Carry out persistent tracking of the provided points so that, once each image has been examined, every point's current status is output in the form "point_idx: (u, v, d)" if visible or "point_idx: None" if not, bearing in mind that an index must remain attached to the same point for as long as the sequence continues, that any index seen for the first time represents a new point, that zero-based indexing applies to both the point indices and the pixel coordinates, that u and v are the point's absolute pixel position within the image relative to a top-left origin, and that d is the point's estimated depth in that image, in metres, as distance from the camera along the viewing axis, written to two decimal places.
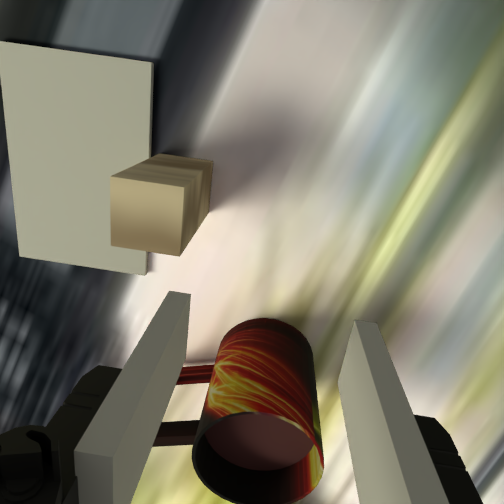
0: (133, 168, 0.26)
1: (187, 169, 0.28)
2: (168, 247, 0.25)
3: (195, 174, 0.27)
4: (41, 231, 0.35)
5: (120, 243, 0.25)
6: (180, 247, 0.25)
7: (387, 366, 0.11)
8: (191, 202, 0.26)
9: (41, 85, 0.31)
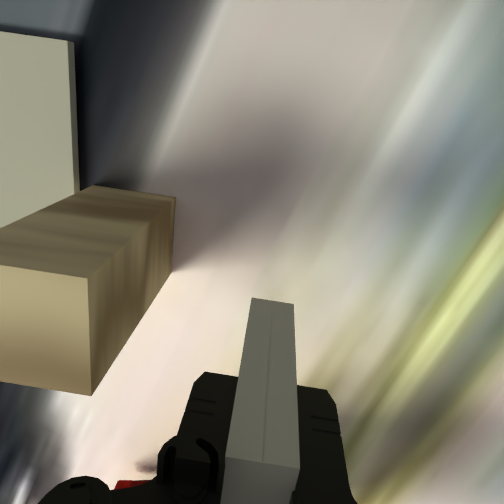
0: (15, 226, 0.14)
1: (121, 221, 0.16)
2: (69, 381, 0.13)
3: (130, 234, 0.15)
4: None
5: None
6: (91, 380, 0.13)
7: (288, 342, 0.11)
8: (119, 287, 0.14)
9: None
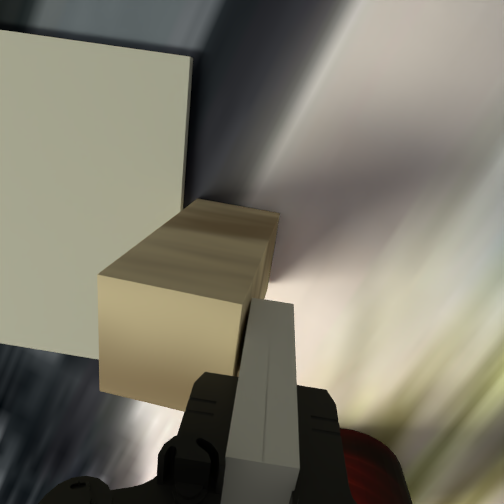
0: (148, 243, 0.14)
1: (242, 239, 0.16)
2: None
3: (258, 254, 0.15)
4: (17, 308, 0.24)
5: (117, 388, 0.13)
6: None
7: (288, 342, 0.11)
8: None
9: (12, 93, 0.19)
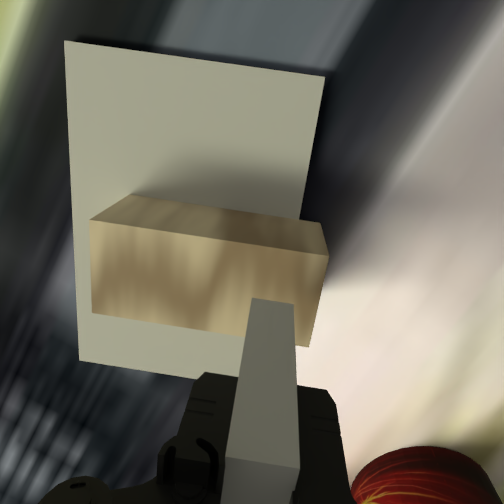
0: (183, 204, 0.20)
1: (217, 230, 0.17)
2: None
3: (183, 232, 0.16)
4: (115, 327, 0.23)
5: None
6: (93, 302, 0.18)
7: (288, 342, 0.11)
8: (145, 262, 0.17)
9: (134, 114, 0.19)
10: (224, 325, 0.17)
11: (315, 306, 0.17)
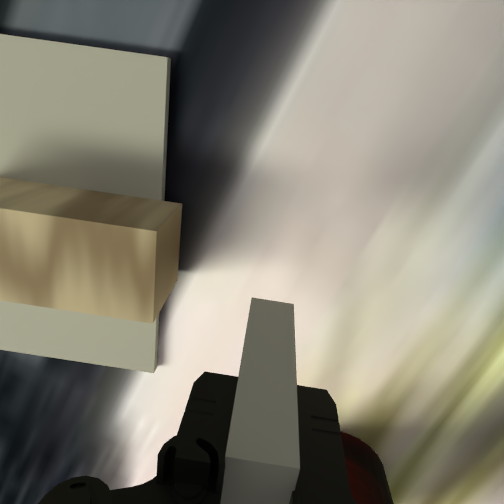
0: (46, 185, 0.20)
1: (56, 207, 0.17)
2: None
3: (15, 208, 0.16)
4: None
5: None
6: None
7: (288, 342, 0.11)
8: None
9: None
10: (68, 302, 0.18)
11: (152, 282, 0.17)
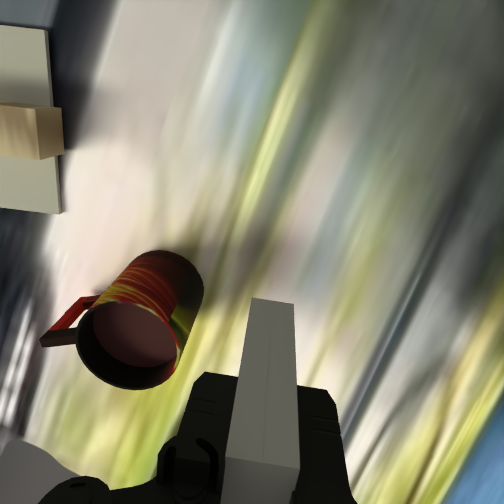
0: None
1: None
2: None
3: None
4: None
5: None
6: None
7: (288, 342, 0.11)
8: None
9: None
10: None
11: (36, 136, 0.36)
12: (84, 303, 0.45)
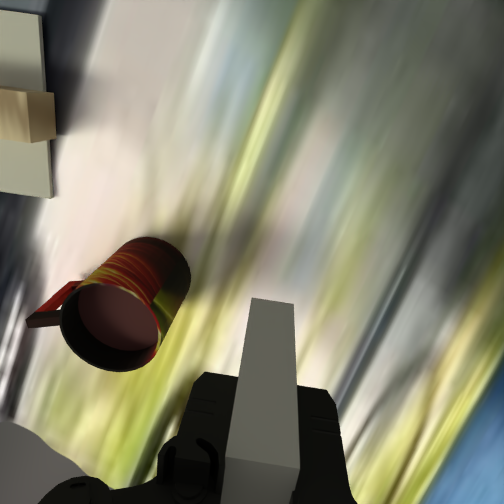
0: None
1: None
2: None
3: None
4: None
5: None
6: None
7: (288, 342, 0.11)
8: None
9: None
10: None
11: (27, 119, 0.36)
12: (72, 287, 0.45)
